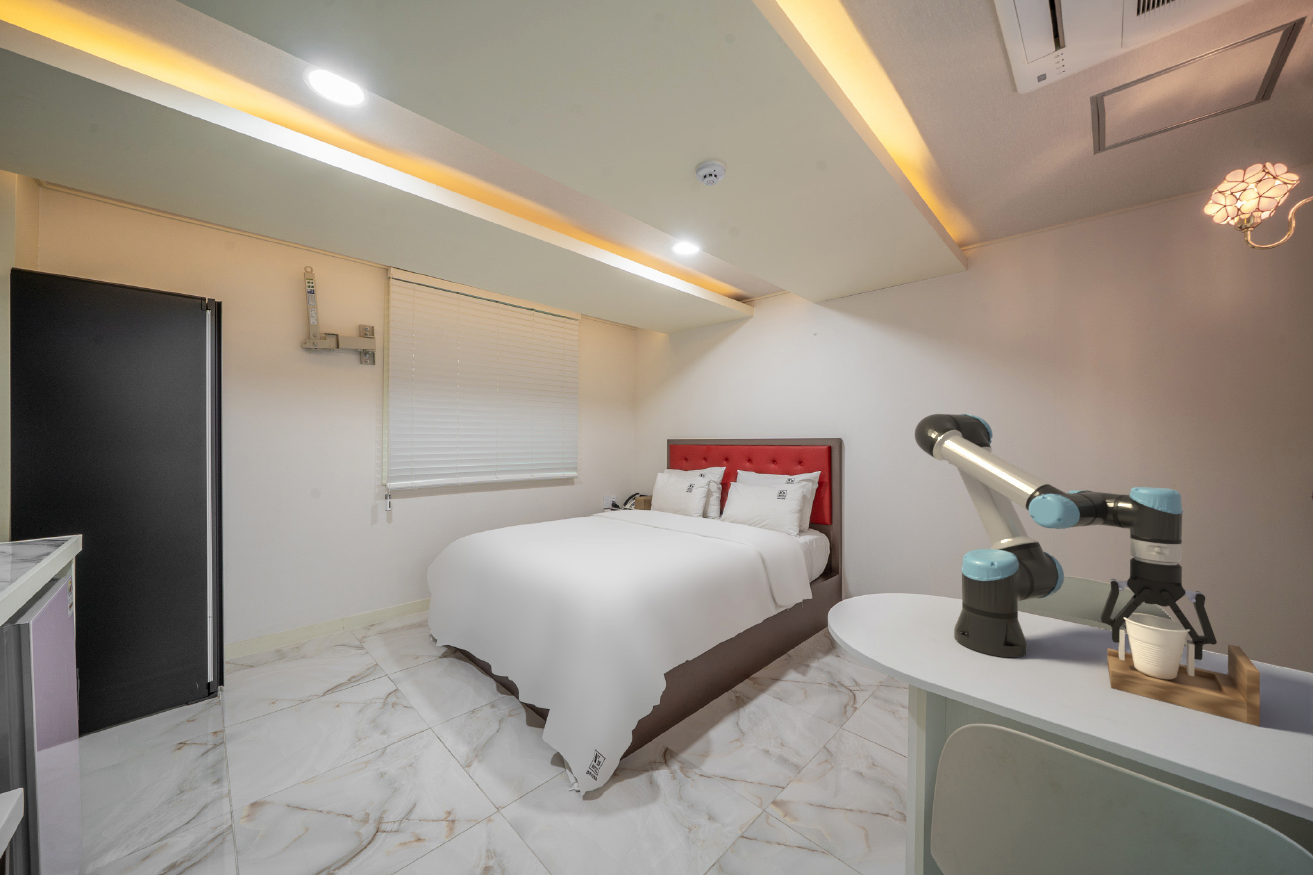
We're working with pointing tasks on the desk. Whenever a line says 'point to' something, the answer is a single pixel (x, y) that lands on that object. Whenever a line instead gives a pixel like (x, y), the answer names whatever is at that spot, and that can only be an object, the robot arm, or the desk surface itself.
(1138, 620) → the cup
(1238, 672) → the bracket shelf
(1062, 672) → the desk surface
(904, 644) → the desk surface
